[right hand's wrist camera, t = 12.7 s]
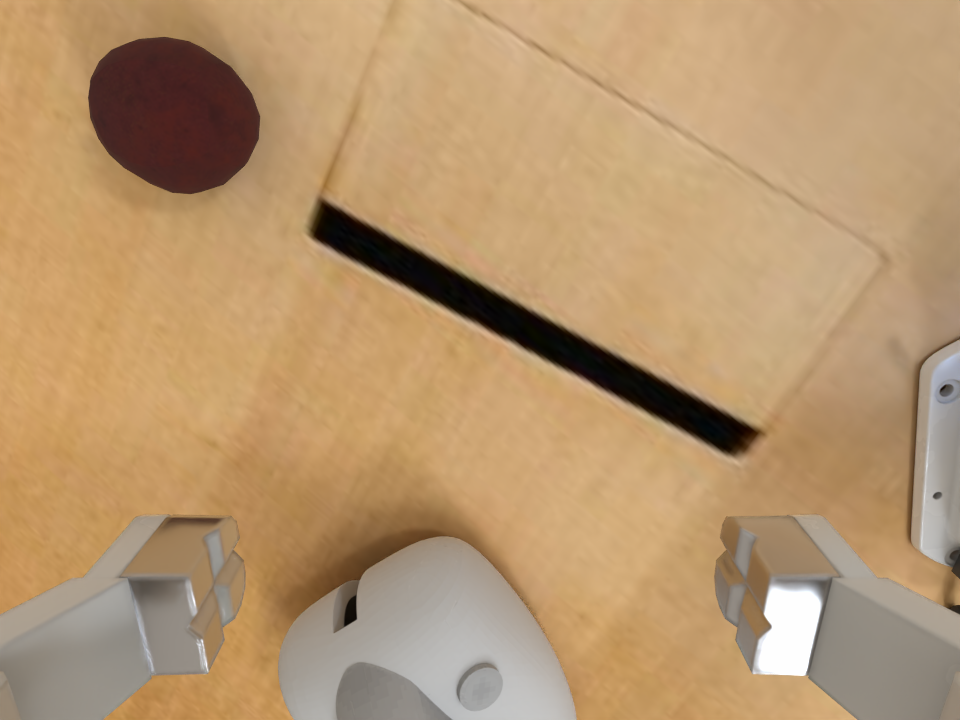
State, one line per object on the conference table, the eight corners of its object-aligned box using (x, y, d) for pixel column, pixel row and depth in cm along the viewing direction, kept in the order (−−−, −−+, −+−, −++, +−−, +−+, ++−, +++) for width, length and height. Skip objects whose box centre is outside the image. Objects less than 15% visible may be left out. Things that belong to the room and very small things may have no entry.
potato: (123, 47, 34) (38, 30, 28) (266, 44, 34) (215, 26, 28) (151, 188, 37) (79, 203, 30) (284, 185, 37) (242, 200, 30)
